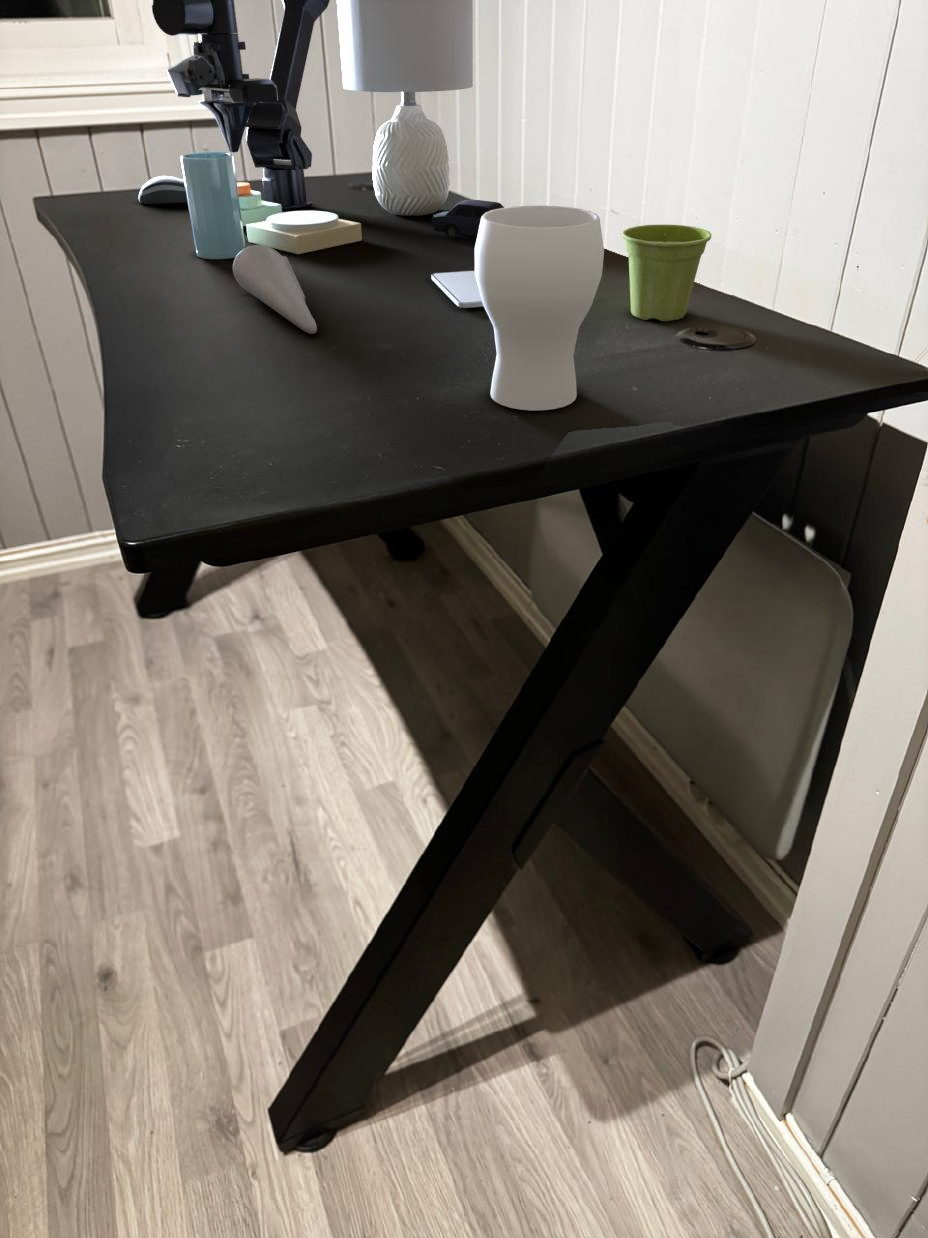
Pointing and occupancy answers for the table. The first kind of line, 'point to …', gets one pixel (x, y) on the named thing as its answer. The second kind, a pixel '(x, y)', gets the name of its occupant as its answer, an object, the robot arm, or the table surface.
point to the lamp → (408, 88)
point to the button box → (256, 208)
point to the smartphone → (460, 287)
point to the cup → (537, 298)
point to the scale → (303, 231)
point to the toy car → (463, 217)
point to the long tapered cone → (273, 284)
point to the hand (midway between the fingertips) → (234, 151)
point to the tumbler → (213, 204)
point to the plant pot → (663, 268)
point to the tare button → (243, 189)
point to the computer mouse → (163, 191)
